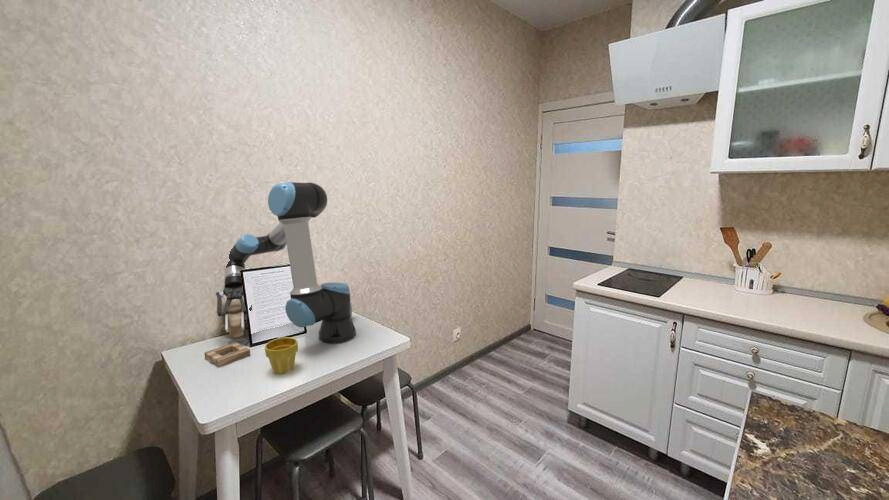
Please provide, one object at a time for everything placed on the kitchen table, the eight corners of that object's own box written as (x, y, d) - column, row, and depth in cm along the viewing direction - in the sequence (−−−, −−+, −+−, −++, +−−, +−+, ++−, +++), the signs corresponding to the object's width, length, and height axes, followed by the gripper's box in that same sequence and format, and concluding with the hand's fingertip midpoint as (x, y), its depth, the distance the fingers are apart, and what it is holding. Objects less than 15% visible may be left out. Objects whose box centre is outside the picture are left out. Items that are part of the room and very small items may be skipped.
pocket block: (250, 355, 136) (249, 349, 135) (219, 367, 127) (218, 360, 126) (236, 347, 142) (235, 341, 141) (205, 358, 133) (204, 352, 132)
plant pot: (278, 380, 119) (276, 352, 117) (260, 371, 124) (258, 345, 122) (305, 367, 127) (303, 341, 126) (287, 359, 133) (285, 334, 131)
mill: (246, 334, 146) (243, 306, 144) (233, 338, 142) (230, 310, 139) (240, 331, 149) (237, 303, 146) (226, 335, 145) (223, 307, 142)
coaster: (251, 342, 146) (251, 341, 146) (233, 348, 141) (233, 347, 141) (242, 338, 150) (242, 337, 150) (224, 344, 145) (224, 343, 145)
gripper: (259, 281, 159) (261, 329, 148) (211, 285, 152) (210, 337, 140) (257, 272, 154) (259, 322, 142) (208, 276, 146) (206, 329, 135)
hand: (235, 329), depth 141 cm, fingers closed on mill, 5 cm apart
